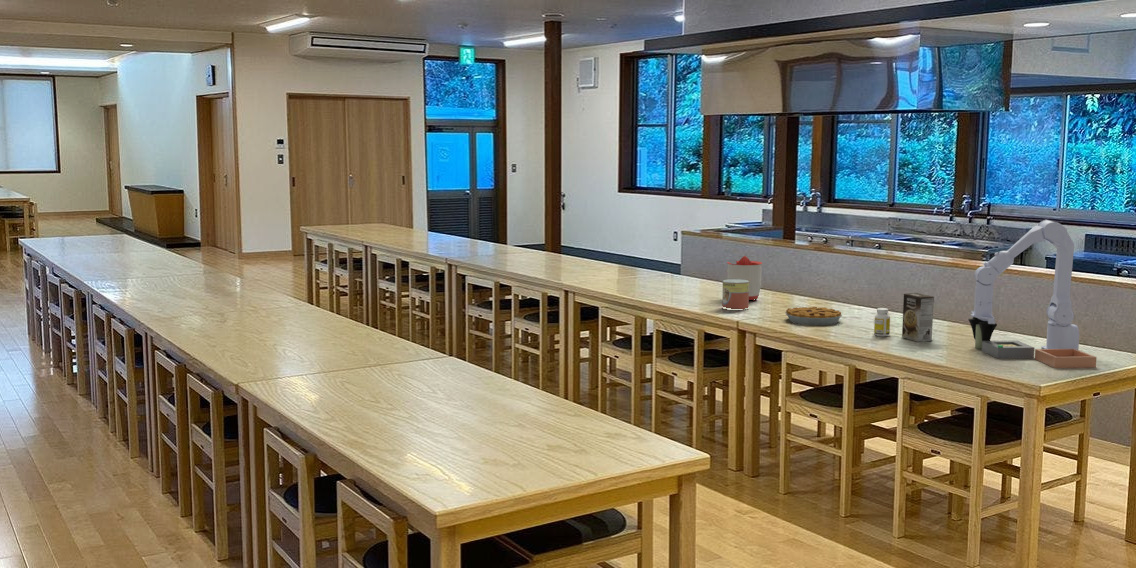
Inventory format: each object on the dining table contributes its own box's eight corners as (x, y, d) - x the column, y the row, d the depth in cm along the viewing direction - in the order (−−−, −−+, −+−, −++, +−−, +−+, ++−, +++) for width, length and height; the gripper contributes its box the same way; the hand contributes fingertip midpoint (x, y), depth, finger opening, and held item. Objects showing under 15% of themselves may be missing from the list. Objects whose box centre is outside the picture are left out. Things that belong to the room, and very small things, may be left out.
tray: (1074, 358, 328) (1074, 348, 327) (1095, 367, 315) (1096, 357, 315) (1034, 359, 328) (1035, 349, 327) (1054, 367, 315) (1055, 357, 314)
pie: (792, 326, 389) (793, 314, 388) (779, 317, 411) (779, 305, 410) (849, 326, 390) (849, 313, 389) (832, 316, 411) (832, 304, 411)
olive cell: (984, 346, 348) (985, 322, 347) (989, 349, 344) (990, 324, 343) (972, 346, 348) (974, 322, 346) (977, 349, 344) (979, 324, 343)
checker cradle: (1016, 350, 341) (1017, 338, 340) (1033, 358, 329) (1034, 345, 329) (981, 351, 341) (982, 339, 340) (997, 358, 329) (998, 346, 328)
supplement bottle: (886, 333, 373) (887, 307, 371) (891, 336, 367) (892, 309, 366) (871, 333, 373) (872, 307, 371) (876, 336, 367) (877, 310, 366)
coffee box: (901, 337, 365) (902, 293, 363) (915, 336, 368) (917, 292, 365) (918, 342, 357) (919, 296, 355) (932, 340, 359) (934, 295, 357)
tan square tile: (1012, 346, 338) (1012, 344, 338) (1021, 349, 332) (1021, 347, 332) (994, 346, 338) (994, 344, 338) (1002, 349, 332) (1002, 348, 331)
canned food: (716, 307, 434) (717, 280, 432) (738, 305, 439) (739, 278, 437) (731, 311, 424) (732, 283, 422) (754, 309, 429) (754, 281, 427)
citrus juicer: (739, 295, 468) (739, 252, 465) (768, 299, 455) (769, 255, 452) (716, 299, 458) (717, 255, 455) (746, 303, 445) (747, 258, 442)
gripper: (963, 298, 351) (961, 337, 353) (981, 305, 336) (979, 345, 338) (983, 298, 351) (981, 336, 353) (1002, 305, 336) (999, 345, 338)
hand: (981, 341), depth 345 cm, fingers open, 6 cm apart
